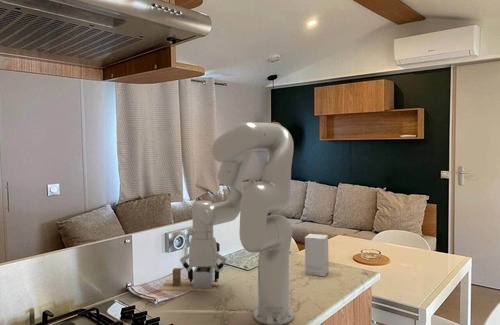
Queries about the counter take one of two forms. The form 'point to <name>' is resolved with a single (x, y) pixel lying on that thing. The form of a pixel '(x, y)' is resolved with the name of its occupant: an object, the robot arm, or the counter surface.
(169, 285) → the peg board
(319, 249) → the skincare box
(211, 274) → the grey open box
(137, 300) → the counter surface
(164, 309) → the counter surface
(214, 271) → the medicine bottle
